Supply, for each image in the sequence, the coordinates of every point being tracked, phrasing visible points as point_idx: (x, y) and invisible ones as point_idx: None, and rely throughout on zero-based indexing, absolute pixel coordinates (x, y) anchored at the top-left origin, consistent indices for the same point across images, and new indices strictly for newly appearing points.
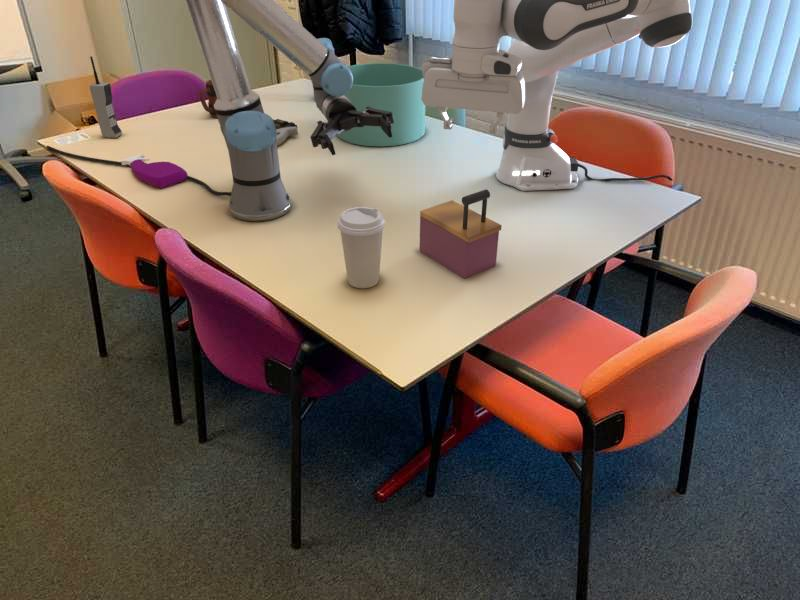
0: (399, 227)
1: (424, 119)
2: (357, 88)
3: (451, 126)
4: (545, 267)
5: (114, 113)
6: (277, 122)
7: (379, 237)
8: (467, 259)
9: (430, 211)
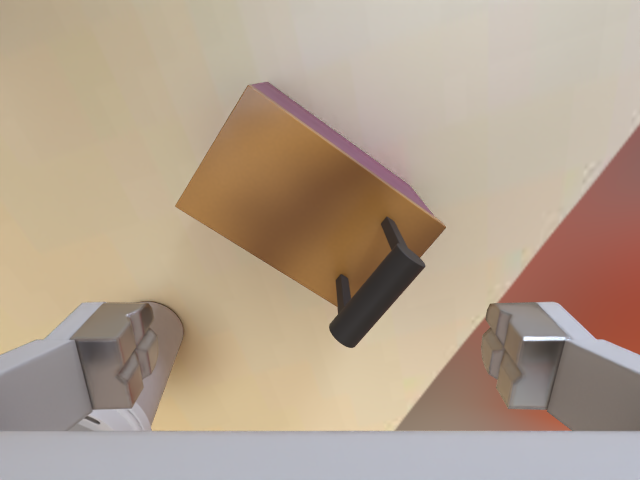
0: (99, 49)
1: None
2: None
3: (145, 331)
4: (531, 159)
5: None
6: None
7: (152, 419)
8: None
9: (207, 201)
